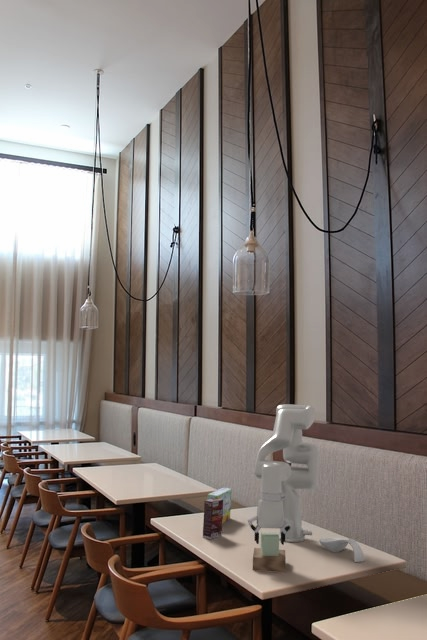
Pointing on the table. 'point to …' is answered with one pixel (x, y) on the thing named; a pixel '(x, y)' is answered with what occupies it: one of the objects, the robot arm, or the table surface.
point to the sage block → (269, 544)
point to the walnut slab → (269, 561)
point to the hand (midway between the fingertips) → (269, 543)
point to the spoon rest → (342, 546)
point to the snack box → (226, 496)
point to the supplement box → (213, 518)
